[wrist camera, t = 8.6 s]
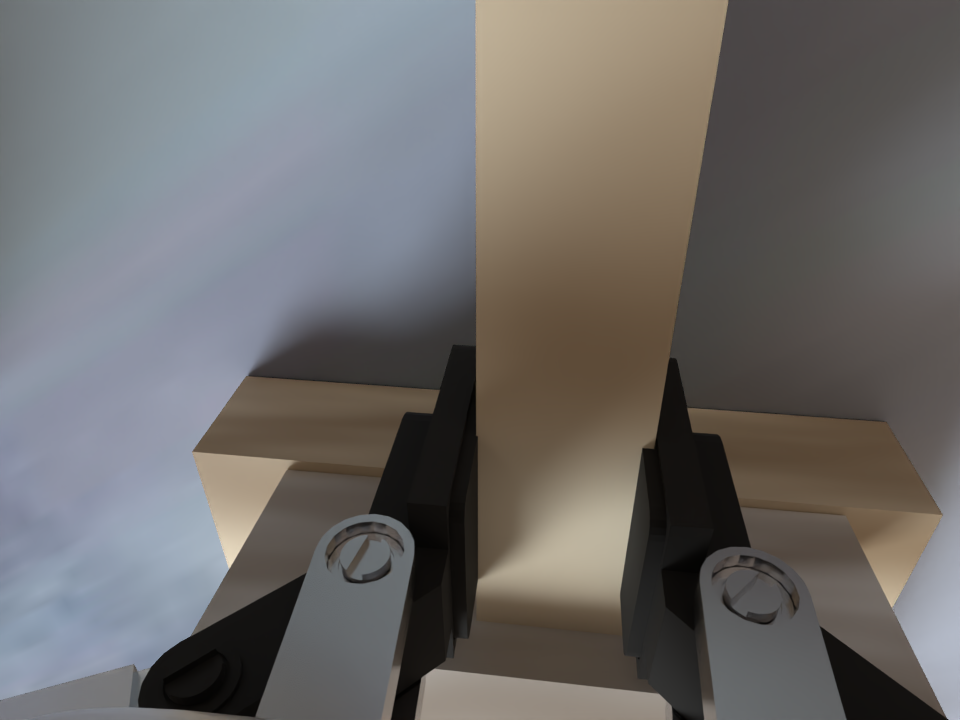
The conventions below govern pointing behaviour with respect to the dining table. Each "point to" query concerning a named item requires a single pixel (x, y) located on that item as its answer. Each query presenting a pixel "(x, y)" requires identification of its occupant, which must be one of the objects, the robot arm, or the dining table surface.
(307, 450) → the board
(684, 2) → the scraper
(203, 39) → the dining table surface
